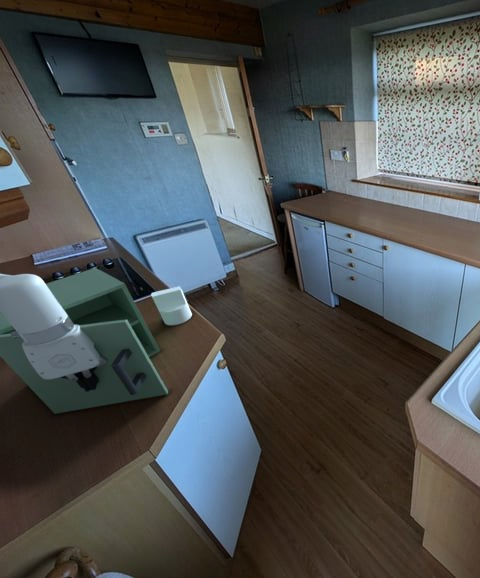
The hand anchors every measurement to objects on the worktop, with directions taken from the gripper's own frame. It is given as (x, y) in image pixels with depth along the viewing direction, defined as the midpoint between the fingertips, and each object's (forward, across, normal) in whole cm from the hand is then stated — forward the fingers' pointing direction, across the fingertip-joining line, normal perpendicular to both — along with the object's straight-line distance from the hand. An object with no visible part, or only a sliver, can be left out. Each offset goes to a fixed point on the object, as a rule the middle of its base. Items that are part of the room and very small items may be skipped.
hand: (92, 386), depth 72 cm
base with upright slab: (+9, +14, +37) cm, 41 cm away
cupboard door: (+9, 0, -1) cm, 9 cm away
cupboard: (+9, -6, +21) cm, 23 cm away
